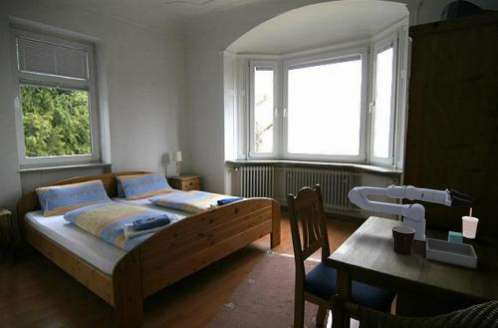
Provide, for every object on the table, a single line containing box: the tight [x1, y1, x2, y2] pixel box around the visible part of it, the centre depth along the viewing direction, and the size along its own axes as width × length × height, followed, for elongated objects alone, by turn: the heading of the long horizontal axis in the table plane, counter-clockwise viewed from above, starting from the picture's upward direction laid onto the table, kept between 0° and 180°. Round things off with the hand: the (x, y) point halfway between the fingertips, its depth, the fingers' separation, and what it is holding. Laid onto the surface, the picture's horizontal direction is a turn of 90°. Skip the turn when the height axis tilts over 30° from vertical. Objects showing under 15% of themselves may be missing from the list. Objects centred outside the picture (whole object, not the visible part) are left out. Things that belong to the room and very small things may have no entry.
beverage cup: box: [461, 207, 479, 239], centre depth 135 cm, size 6×6×14 cm
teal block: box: [447, 230, 464, 244], centre depth 124 cm, size 4×4×6 cm
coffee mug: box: [391, 225, 415, 256], centre depth 118 cm, size 12×9×10 cm
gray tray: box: [425, 237, 479, 269], centre depth 115 cm, size 16×14×4 cm
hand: (470, 201), depth 122 cm, fingers open, 7 cm apart
